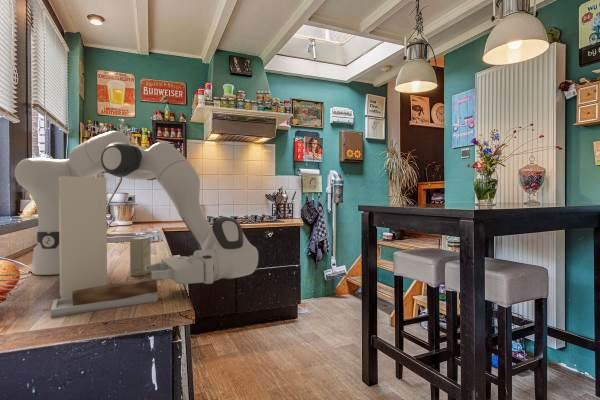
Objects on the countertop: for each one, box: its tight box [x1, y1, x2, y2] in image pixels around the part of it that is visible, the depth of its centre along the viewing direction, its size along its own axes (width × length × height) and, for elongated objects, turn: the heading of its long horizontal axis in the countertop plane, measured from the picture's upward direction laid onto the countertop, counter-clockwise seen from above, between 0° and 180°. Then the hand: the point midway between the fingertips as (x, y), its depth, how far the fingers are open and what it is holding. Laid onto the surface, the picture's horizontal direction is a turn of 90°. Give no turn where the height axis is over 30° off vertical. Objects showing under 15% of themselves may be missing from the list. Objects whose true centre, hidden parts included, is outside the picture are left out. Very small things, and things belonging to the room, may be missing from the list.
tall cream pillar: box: [59, 176, 108, 299], centre depth 93 cm, size 10×9×31 cm
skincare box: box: [129, 236, 152, 277], centre depth 118 cm, size 6×4×12 cm
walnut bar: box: [72, 277, 158, 306], centre depth 86 cm, size 18×3×3 cm, turn 122°
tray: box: [50, 292, 159, 318], centre depth 85 cm, size 22×9×2 cm, turn 122°
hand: (148, 272), depth 89 cm, fingers open, 8 cm apart
